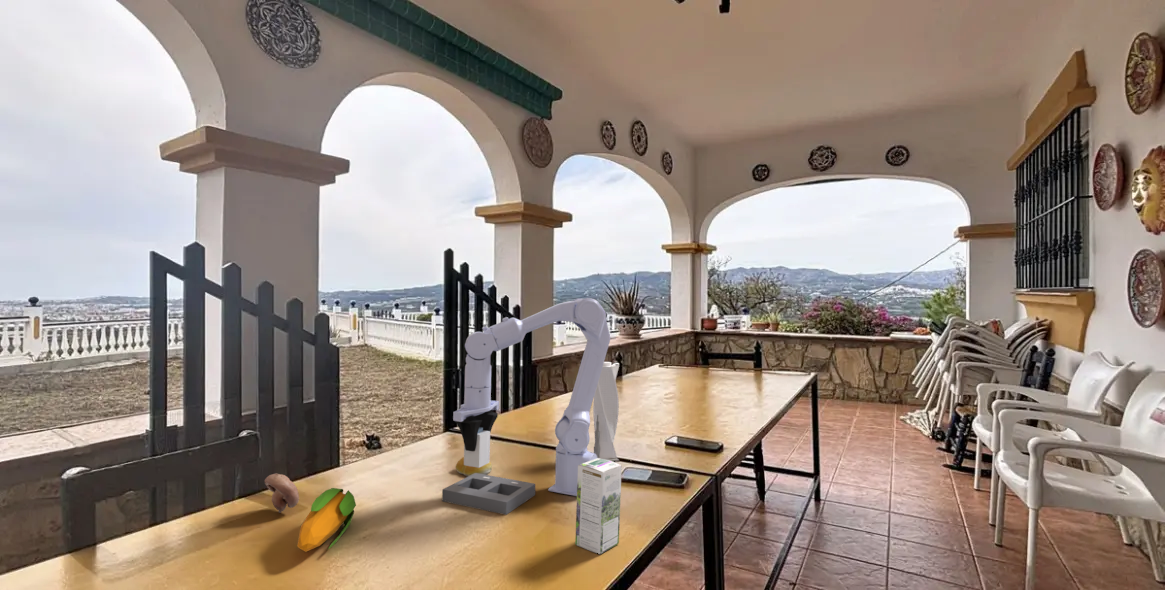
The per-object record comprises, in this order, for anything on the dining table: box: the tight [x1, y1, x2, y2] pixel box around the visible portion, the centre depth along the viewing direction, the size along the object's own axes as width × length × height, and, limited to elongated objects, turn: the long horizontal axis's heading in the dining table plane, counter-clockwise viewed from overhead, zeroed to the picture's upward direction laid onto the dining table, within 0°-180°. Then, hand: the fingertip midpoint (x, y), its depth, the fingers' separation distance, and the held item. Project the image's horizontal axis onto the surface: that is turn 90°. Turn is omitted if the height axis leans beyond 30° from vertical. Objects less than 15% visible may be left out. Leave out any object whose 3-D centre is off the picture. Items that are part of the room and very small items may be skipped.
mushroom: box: [264, 473, 300, 513], centre depth 104 cm, size 8×6×8 cm
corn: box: [296, 487, 357, 553], centre depth 93 cm, size 7×8×20 cm
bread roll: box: [455, 456, 493, 477], centre depth 132 cm, size 8×9×4 cm
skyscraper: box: [592, 361, 620, 462], centre depth 146 cm, size 8×8×28 cm
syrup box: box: [574, 458, 622, 555], centre depth 93 cm, size 6×6×14 cm
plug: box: [463, 427, 491, 468], centre depth 116 cm, size 4×4×8 cm
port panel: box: [441, 473, 536, 516], centre depth 114 cm, size 16×12×3 cm
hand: (476, 447), depth 116 cm, fingers closed on plug, 4 cm apart
